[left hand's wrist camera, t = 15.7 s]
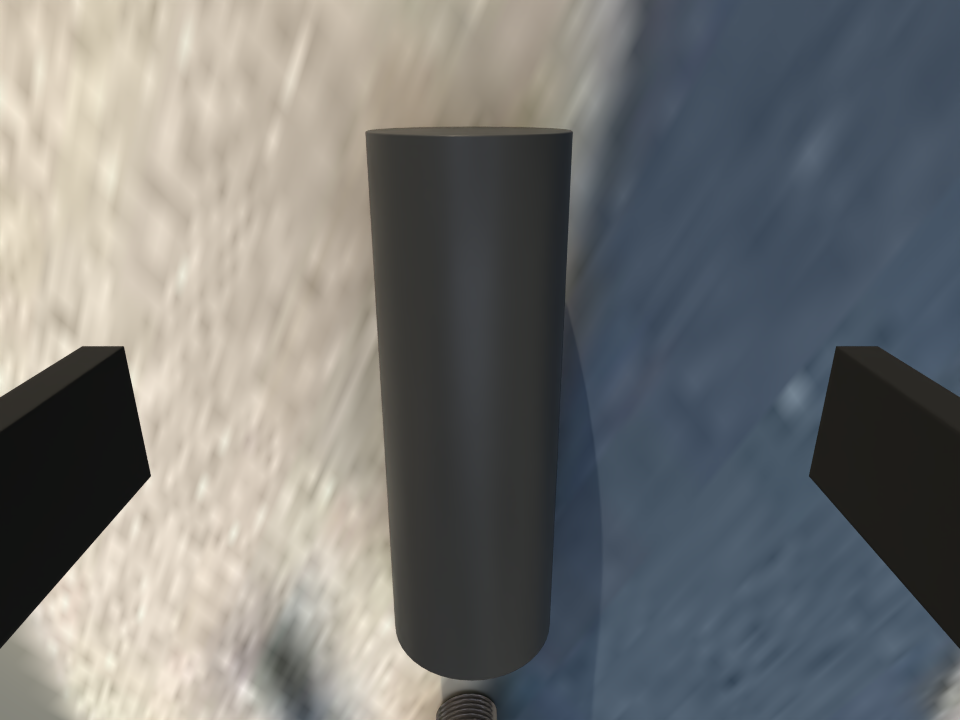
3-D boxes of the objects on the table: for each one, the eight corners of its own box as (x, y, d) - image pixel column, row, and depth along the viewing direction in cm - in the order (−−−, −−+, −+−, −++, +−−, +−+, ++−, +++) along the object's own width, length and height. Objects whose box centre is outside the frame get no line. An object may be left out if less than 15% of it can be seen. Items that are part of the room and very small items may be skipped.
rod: (379, 126, 32) (348, 135, 24) (559, 126, 32) (588, 135, 24) (403, 568, 41) (386, 681, 33) (541, 567, 41) (558, 680, 33)
